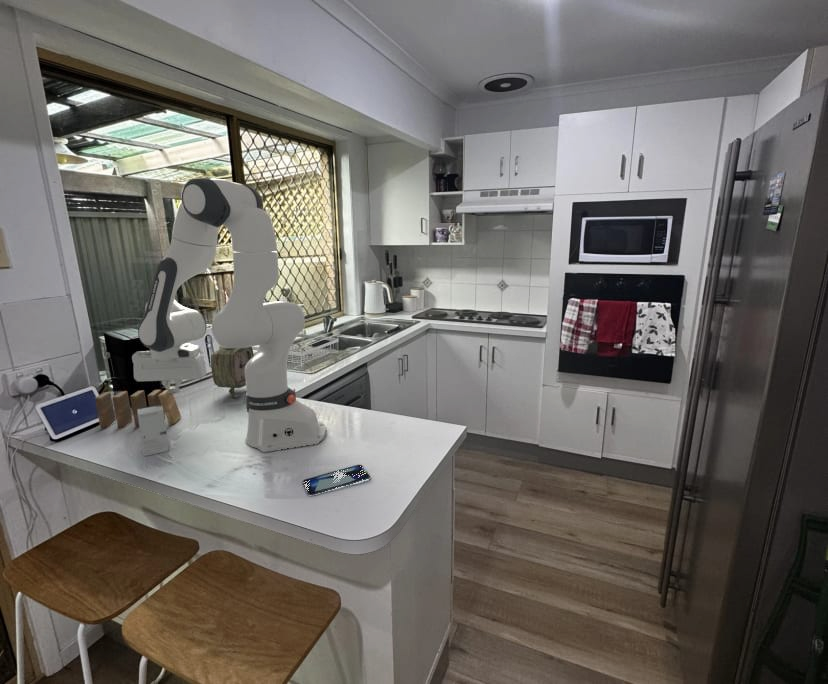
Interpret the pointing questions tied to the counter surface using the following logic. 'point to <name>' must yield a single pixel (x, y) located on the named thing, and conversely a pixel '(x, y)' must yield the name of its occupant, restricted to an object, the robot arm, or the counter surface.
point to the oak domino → (169, 407)
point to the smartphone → (326, 480)
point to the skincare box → (152, 430)
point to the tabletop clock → (230, 367)
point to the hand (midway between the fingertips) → (173, 392)
